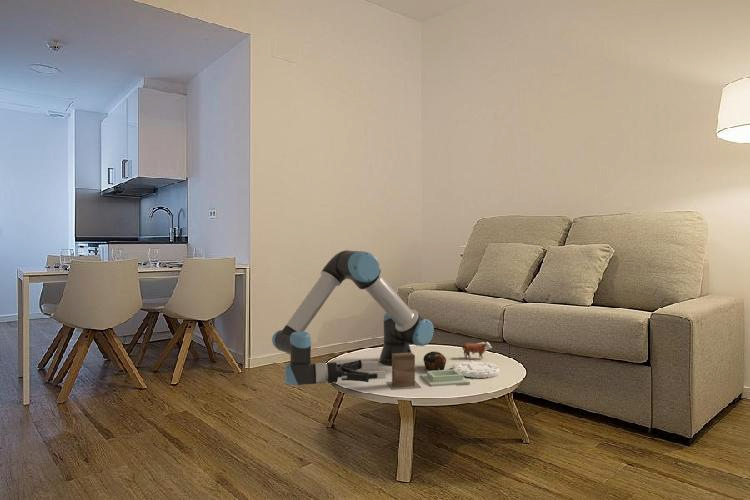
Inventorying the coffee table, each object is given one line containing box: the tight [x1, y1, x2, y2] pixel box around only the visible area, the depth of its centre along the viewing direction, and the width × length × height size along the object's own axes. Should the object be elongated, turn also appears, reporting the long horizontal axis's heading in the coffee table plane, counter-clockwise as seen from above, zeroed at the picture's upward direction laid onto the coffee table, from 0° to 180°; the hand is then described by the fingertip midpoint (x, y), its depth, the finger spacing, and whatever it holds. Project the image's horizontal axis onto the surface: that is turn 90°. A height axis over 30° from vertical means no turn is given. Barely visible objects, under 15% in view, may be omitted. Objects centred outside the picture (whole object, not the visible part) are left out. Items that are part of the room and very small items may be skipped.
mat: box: [385, 380, 422, 391], centre depth 203 cm, size 10×12×1 cm
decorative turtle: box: [423, 350, 447, 371], centre depth 225 cm, size 10×15×8 cm, turn 23°
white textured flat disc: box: [451, 359, 501, 379], centre depth 221 cm, size 20×20×3 cm
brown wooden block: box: [391, 352, 416, 387], centre depth 202 cm, size 4×8×12 cm, turn 102°
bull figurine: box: [462, 341, 493, 360], centre depth 243 cm, size 4×13×8 cm, turn 81°
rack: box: [420, 369, 471, 387], centre depth 209 cm, size 14×16×3 cm
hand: (381, 369), depth 200 cm, fingers open, 13 cm apart
